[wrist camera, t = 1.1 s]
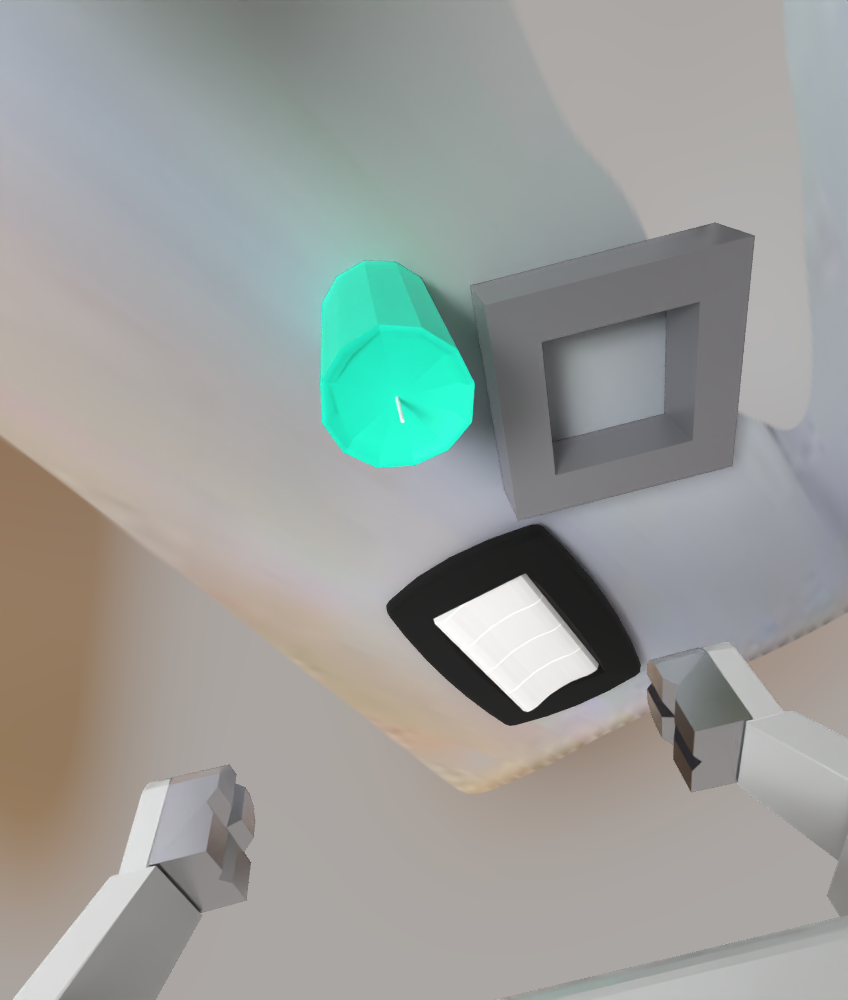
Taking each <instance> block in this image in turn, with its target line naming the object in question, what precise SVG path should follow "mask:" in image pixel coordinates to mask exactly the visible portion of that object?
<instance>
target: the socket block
mask: <svg viewBox="0 0 848 1000" xmlns="http://www.w3.org/2000/svg"><path fill="white" fill-rule="evenodd" d="M754 239H755V236H754V235H751V234H748V233H745V232H742V231H739V230H736V229H733V228H730V227H727V226H724V225H721V224H718V223H712V224H708V225H704V226H700V227H696V228H693V229H689V230H685V231H681V232H677V233H673V234H669V235H665V236H661V237H658V238H654V239H650V240H646V241H642V242H638V243H634V244H630V245H627V246H623V247H619V248H615V249H611V250H607V251H603V252H599V253H596V254H592V255H588V256H584V257H580V258H576V259H572V260H568V261H565V262H561V263H557V264H553V265H549V266H545V267H541V268H537V269H534V270H530V271H526V272H522V273H518V274H514V275H510V276H506V277H503V278H499V279H495V280H491V281H487V282H483V283H479V284H476V285H472V286H470V288H471V294H472V300H473V306H474V312H475V318H476V324H477V330H478V336H479V342H480V348H481V354H482V360H483V366H484V372H485V378H486V384H487V390H488V396H489V403H490V409H491V415H492V421H493V427H494V433H495V439H496V445H497V451H498V457H499V463H500V469H501V475H502V481H503V487H504V490H505V493H506V495H507V497H508V499H509V502H510V504H511V506H512V508H513V510H514V513H515V515H516V517H517V519H518V521H519V520H522V519H526V518H530V517H534V516H538V515H542V514H546V513H550V512H554V511H558V510H562V509H566V508H570V507H574V506H578V505H582V504H586V503H589V502H593V501H597V500H601V499H605V498H609V497H613V496H617V495H621V494H625V493H629V492H633V491H637V490H641V489H645V488H649V487H653V486H656V485H660V484H664V483H668V482H672V481H676V480H680V479H684V478H688V477H692V476H696V475H700V474H704V473H708V472H712V471H716V470H720V469H723V468H727V467H731V466H732V464H733V454H734V444H735V433H736V423H737V413H738V403H739V392H740V381H741V372H742V362H743V352H744V341H745V331H746V321H747V310H748V301H749V290H750V280H751V269H752V260H753V250H754ZM662 311H666V358H665V408H664V414H661V415H657V416H654V417H650V418H646V419H642V420H638V421H634V422H630V423H626V424H622V425H618V426H614V427H610V428H606V429H603V430H599V431H595V432H591V433H587V434H583V435H579V436H575V437H571V438H567V439H563V440H559V441H556V442H552V437H551V427H550V418H549V408H548V398H547V389H546V379H545V370H544V360H543V350H542V342H545V341H549V340H553V339H557V338H561V337H564V336H568V335H572V334H576V333H580V332H584V331H588V330H592V329H596V328H600V327H603V326H607V325H611V324H615V323H619V322H623V321H627V320H631V319H635V318H638V317H642V316H646V315H650V314H654V313H658V312H662Z"/></svg>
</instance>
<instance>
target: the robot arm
mask: <svg viewBox="0 0 848 1000" xmlns="http://www.w3.org/2000/svg"><path fill="white" fill-rule="evenodd" d="M647 675H648V677H649V678H650V680H651V682H652V683H651V685H650V686H649V687H648V688H647V699H648V704H649V708H650V712H651V715H652V718H653V720H654V723H655V725H656V727H657V729H658V731H659V733H660V735H661V737H662V738H663V739H664V740H666V741H668V742H669V743H671V744H672V745H674V748H673V760H674V762H675V763H676V765H677V767H678V769H679V771H680V773H681V774H682V776H683V778H684V780H685V782H686V784H687V786H688V788H689V789H690V791H691V792H695V791H700V790H704V789H709V788H714V787H719V786H723V785H728V784H732V783H737V782H738V786H739V787H741V788H742V789H744V790H745V791H746V792H747V793H749V794H750V795H752V796H753V797H754V798H755V799H757V800H758V801H759V802H761V803H762V804H763V805H765V806H766V807H767V808H769V809H770V810H772V811H773V812H774V813H775V814H777V815H778V816H779V817H781V818H782V819H783V820H785V821H786V822H787V823H789V824H790V825H791V826H793V827H794V828H795V829H797V830H798V831H799V832H801V833H802V834H803V835H805V836H806V837H807V838H809V839H810V840H812V841H813V842H814V843H815V844H817V845H818V846H819V847H821V848H822V849H823V850H825V851H826V852H827V853H829V854H830V855H831V856H833V857H834V858H835V859H837V860H838V863H837V867H836V870H835V872H834V876H833V878H832V881H831V884H830V887H829V891H828V894H827V896H828V898H829V900H830V901H831V903H832V905H833V906H834V908H835V909H836V911H837V913H838V914H839V916H840V917H838V918H834V919H829V920H825V921H822V922H817V923H813V924H809V925H805V926H800V927H796V928H792V929H788V930H784V931H780V932H776V933H771V934H767V935H763V936H759V937H755V938H750V939H746V940H743V941H738V942H734V943H730V944H726V945H721V946H717V947H713V948H709V949H705V950H701V951H696V952H692V953H688V954H684V955H680V956H676V957H672V958H668V959H663V960H659V961H655V962H651V963H647V964H642V965H639V966H634V967H630V968H626V969H622V970H618V971H613V972H609V973H605V974H601V975H597V976H593V977H588V978H584V979H580V980H576V981H572V982H568V983H564V984H559V985H555V986H551V987H547V988H543V989H539V990H535V991H530V992H526V993H522V994H518V995H514V996H509V997H505V998H502V999H497V1000H848V739H847V738H845V737H844V736H841V735H840V734H838V733H836V732H834V731H832V730H830V729H828V728H826V727H824V726H823V725H820V724H819V723H817V722H815V721H813V720H811V719H809V718H807V717H805V716H803V715H801V714H799V713H798V712H796V711H794V710H790V711H784V710H783V709H782V708H781V706H780V705H779V704H778V702H777V701H776V700H775V698H774V697H773V696H772V695H771V693H770V692H769V691H768V689H767V688H766V687H765V686H764V684H763V683H762V682H761V680H760V679H759V678H758V676H757V675H756V674H755V672H754V671H753V670H752V669H751V667H750V666H749V665H748V663H747V662H746V661H745V659H744V658H743V657H742V656H741V654H740V653H739V652H738V650H737V649H736V648H735V646H734V645H733V644H731V643H729V642H728V641H726V642H721V643H717V644H713V645H710V646H706V647H702V648H695V649H691V650H687V651H683V652H679V653H675V654H672V655H668V656H664V657H660V658H656V659H653V660H649V662H648V664H647ZM236 775H237V774H236V773H235V772H234V770H233V769H232V767H231V766H230V765H225V766H220V767H216V768H212V769H207V770H202V771H198V772H194V773H189V774H184V775H180V776H175V777H170V778H166V779H163V780H158V781H154V782H150V783H148V784H147V786H146V787H145V789H144V790H143V792H142V795H141V798H140V801H139V805H138V809H137V812H136V815H135V819H134V822H133V826H132V829H131V833H130V836H129V839H128V843H127V846H126V850H125V853H124V857H123V860H122V864H121V867H120V870H119V874H117V875H114V876H110V878H109V879H108V880H107V882H106V883H105V884H104V885H103V887H102V888H101V889H100V890H99V892H98V893H97V894H96V895H95V897H94V898H93V899H92V901H91V902H90V903H89V904H88V906H87V907H86V908H85V909H84V910H83V912H82V913H81V914H80V916H79V917H78V918H77V919H76V921H75V922H74V923H73V924H72V926H71V927H70V928H69V929H68V931H67V932H66V933H65V934H64V936H63V937H62V938H61V939H60V941H59V942H58V943H57V945H56V946H55V947H54V948H53V949H52V951H51V952H50V953H49V954H48V956H47V957H46V958H45V960H44V961H43V962H42V963H41V965H40V966H39V967H38V968H37V970H36V971H35V972H34V973H33V975H32V976H31V977H30V978H29V980H28V981H27V982H26V984H25V985H24V986H23V987H22V989H21V990H20V991H19V992H18V994H17V995H16V996H15V997H14V999H13V1000H155V999H156V998H157V996H158V995H159V993H160V991H161V989H162V987H163V985H164V983H165V982H166V980H167V978H168V977H169V975H170V973H171V971H172V969H173V968H174V966H175V964H176V962H177V960H178V958H179V957H180V955H181V953H182V951H183V949H184V948H185V946H186V944H187V942H188V940H189V938H190V937H191V935H192V933H193V931H194V929H195V928H196V926H197V924H198V922H199V921H200V919H201V917H202V914H201V913H203V912H206V911H210V910H214V909H217V908H221V907H225V906H228V905H232V904H235V903H239V902H243V901H246V900H247V891H248V883H249V874H250V865H251V862H250V860H249V859H248V857H247V856H246V854H245V852H244V851H245V850H246V848H247V847H248V845H249V844H250V842H251V841H252V839H253V838H254V828H255V815H254V805H253V802H252V799H251V796H250V794H249V792H248V791H247V789H246V788H245V787H243V786H241V785H238V784H236V783H235V781H236Z"/></svg>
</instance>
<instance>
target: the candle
mask: <svg viewBox="0 0 848 1000" xmlns="http://www.w3.org/2000/svg"><path fill="white" fill-rule="evenodd" d="M320 388H321V411H322V424H323V425H324V427H325V428H326V429H327V431H328V432H329V433H330V435H331V436H332V437H333V439H334V440H335V442H336V443H337V444H338V446H339V447H340V448H341V450H342V451H343V452H344V453H346V454H348V455H350V456H352V457H355V458H357V459H359V460H361V461H363V462H365V463H368V464H370V465H372V466H374V467H376V468H384V467H398V466H412V465H417V464H419V463H421V462H423V461H425V460H428V459H430V458H432V457H434V456H437V455H439V454H441V453H443V452H445V451H448V450H449V449H450V448H451V447H452V446H453V444H454V443H455V442H456V441H457V440H458V439H459V437H460V436H461V435H462V434H463V433H464V431H465V430H466V429H467V428H468V427H469V425H470V424H471V423H472V417H473V403H474V390H475V383H474V381H473V379H472V377H471V375H470V373H469V371H468V369H467V367H466V365H465V363H464V361H463V359H462V357H461V355H460V353H459V351H458V349H457V347H456V345H455V343H454V341H453V339H452V337H451V335H450V333H449V331H448V329H447V327H446V326H445V324H444V322H443V320H442V318H441V316H440V314H439V312H438V310H437V308H436V306H435V304H434V302H433V300H432V298H431V296H430V295H429V293H428V291H427V289H426V287H425V285H424V283H423V281H422V279H421V278H420V277H419V276H417V275H416V274H414V273H412V272H411V271H409V270H408V269H406V268H405V267H403V266H401V265H400V264H398V263H397V262H395V261H362V262H360V263H359V264H357V265H355V266H354V267H352V268H350V269H348V270H347V271H345V272H343V273H342V274H340V275H338V276H337V277H336V279H335V280H334V282H333V284H332V286H331V288H330V290H329V292H328V293H327V295H326V297H325V299H324V301H323V303H322V326H321V368H320Z"/></svg>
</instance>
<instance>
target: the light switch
mask: <svg viewBox="0 0 848 1000" xmlns="http://www.w3.org/2000/svg"><path fill="white" fill-rule="evenodd" d="M386 607H387V612H388V615H389V616H390V618H391V619H392V620H393V621H394V623H395V624H396V625H397V627H398V628H399V629H400V630H401V632H402V633H403V634H404V635H405V637H406V638H407V639H408V640H409V641H410V642H411V643H412V644H413V646H414V647H415V648H416V649H417V650H418V651H419V652H420V653H421V654H422V655H423V657H424V658H425V659H426V660H427V661H428V662H429V663H430V664H431V665H432V666H433V667H434V668H435V669H436V670H437V671H438V672H439V673H440V674H441V675H442V676H444V677H445V678H446V679H447V680H448V681H449V682H450V683H451V684H453V685H454V686H455V687H456V688H457V689H458V690H460V691H461V692H462V693H463V694H464V695H465V696H467V697H468V698H469V699H471V700H472V701H473V702H475V703H476V704H477V705H479V706H480V707H481V708H482V709H484V710H485V711H486V712H488V713H489V714H491V715H492V716H494V717H495V718H497V719H498V720H500V721H501V722H503V723H504V724H506V725H510V726H512V725H518V724H521V723H525V722H528V721H532V720H535V719H539V718H542V717H546V716H549V715H551V714H554V713H557V712H560V711H563V710H565V709H568V708H571V707H574V706H576V705H579V704H581V703H583V702H585V701H587V700H589V699H592V698H594V697H596V696H598V695H600V694H602V693H605V692H607V691H609V690H611V689H612V688H614V687H616V686H618V685H620V684H621V683H623V682H625V681H627V680H629V679H630V678H632V677H634V676H636V675H637V674H638V673H639V672H640V667H641V664H640V661H639V658H638V656H637V653H636V651H635V649H634V646H633V644H632V642H631V640H630V638H629V636H628V634H627V632H626V630H625V629H624V627H623V625H622V623H621V621H620V619H619V618H618V616H617V614H616V613H615V611H614V610H613V608H612V607H611V605H610V604H609V602H608V601H607V599H606V598H605V596H604V595H603V593H602V592H601V591H600V589H599V588H598V587H597V586H596V584H595V583H594V582H593V580H592V579H591V578H590V577H589V575H588V574H587V573H586V572H585V571H584V569H583V568H582V567H581V566H580V565H579V564H578V563H577V562H576V560H575V559H574V558H573V557H572V556H571V555H570V554H569V553H568V551H567V550H566V549H565V548H564V547H563V546H562V545H561V544H560V543H559V542H558V541H557V540H556V539H555V538H554V537H553V536H552V535H550V534H549V533H548V532H547V531H546V530H545V529H544V528H543V527H542V526H539V525H529V526H527V527H524V528H521V529H518V530H515V531H512V532H509V533H507V534H504V535H501V536H498V537H495V538H492V539H490V540H487V541H485V542H483V543H480V544H478V545H476V546H474V547H472V548H470V549H467V550H465V551H463V552H461V553H459V554H456V555H454V556H452V557H450V558H448V559H447V560H445V561H443V562H442V563H440V564H438V565H437V566H435V567H433V568H432V569H430V570H428V571H427V572H425V573H424V574H422V575H420V576H419V577H417V578H416V579H415V580H413V581H412V582H411V583H410V584H408V585H407V586H406V587H405V588H404V589H403V590H401V591H400V592H399V593H398V594H397V595H396V596H394V597H393V598H392V599H391V600H390V601H389V602H388V604H387V605H386Z"/></svg>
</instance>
